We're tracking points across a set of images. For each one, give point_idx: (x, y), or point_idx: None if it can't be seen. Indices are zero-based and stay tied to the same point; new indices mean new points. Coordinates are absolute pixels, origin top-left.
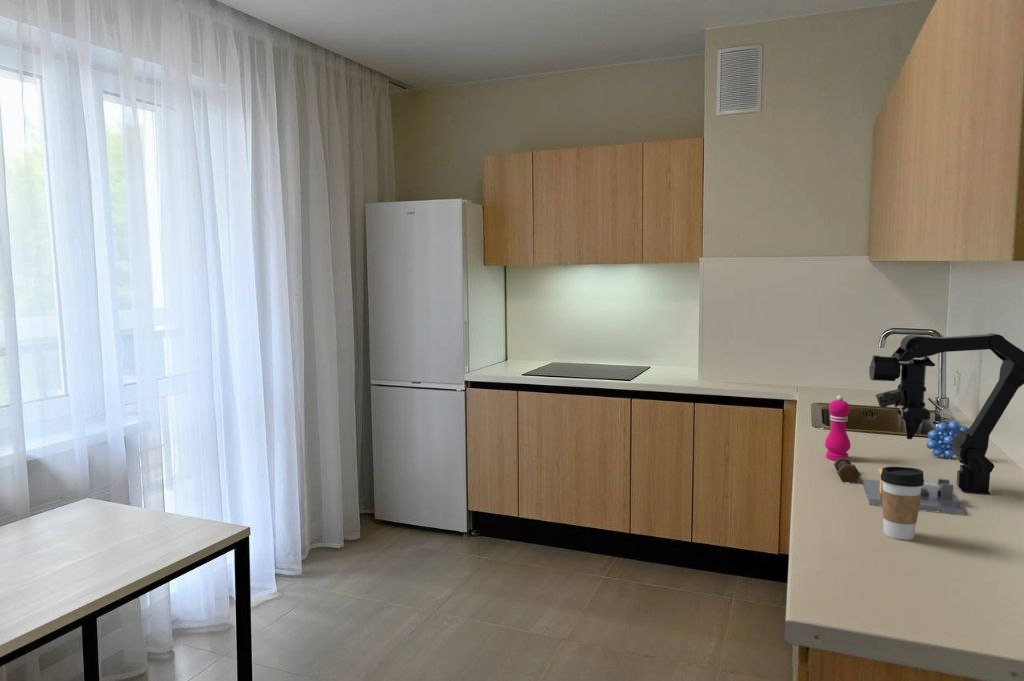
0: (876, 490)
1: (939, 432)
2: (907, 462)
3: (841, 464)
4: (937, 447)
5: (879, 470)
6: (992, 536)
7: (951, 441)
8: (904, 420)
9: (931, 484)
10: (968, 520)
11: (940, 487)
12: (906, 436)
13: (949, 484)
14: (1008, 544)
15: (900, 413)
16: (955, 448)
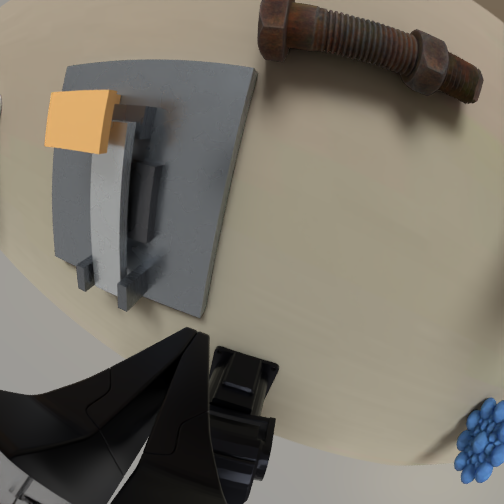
0: (123, 87)
1: (498, 443)
2: (487, 337)
3: (373, 22)
4: (490, 415)
5: (101, 90)
6: (13, 244)
7: (248, 463)
8: (89, 425)
9: (100, 248)
10: (47, 246)
11: (94, 262)
12: (203, 340)
13: (83, 284)
14: (3, 248)
15: (18, 467)
16: (216, 440)
